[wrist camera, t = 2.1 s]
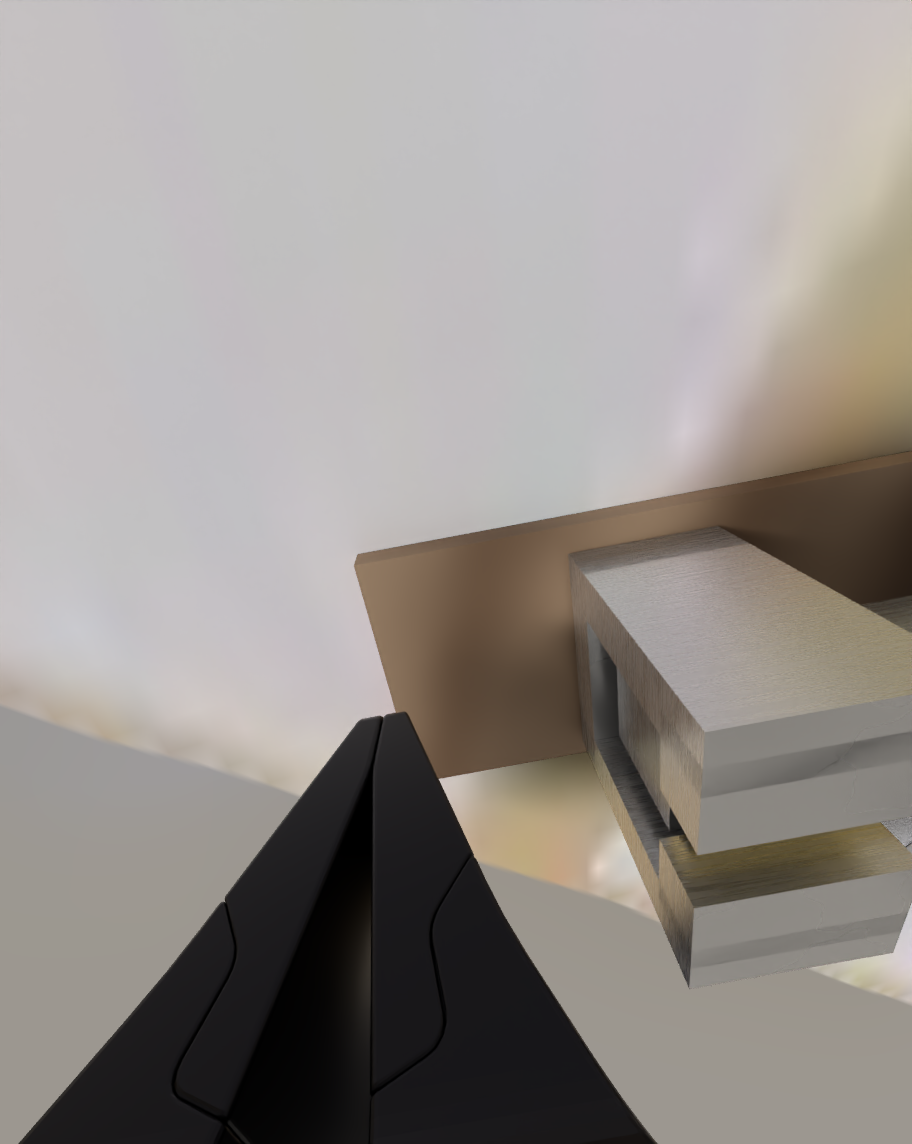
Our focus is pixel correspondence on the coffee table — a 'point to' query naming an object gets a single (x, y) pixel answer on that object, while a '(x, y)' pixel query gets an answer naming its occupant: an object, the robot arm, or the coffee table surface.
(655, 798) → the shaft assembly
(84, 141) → the coffee table surface
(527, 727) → the board
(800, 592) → the grey slotted block
